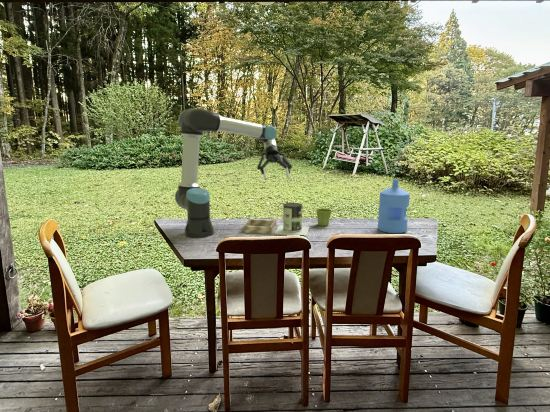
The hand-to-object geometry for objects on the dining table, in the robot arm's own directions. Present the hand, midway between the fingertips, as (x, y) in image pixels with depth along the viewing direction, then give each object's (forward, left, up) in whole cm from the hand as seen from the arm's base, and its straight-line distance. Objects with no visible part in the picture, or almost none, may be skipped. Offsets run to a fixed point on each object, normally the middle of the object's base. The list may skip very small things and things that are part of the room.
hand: (277, 178), depth 217 cm
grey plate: (+11, -11, -27) cm, 31 cm away
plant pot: (+27, +5, -27) cm, 38 cm away
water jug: (+65, +1, -27) cm, 70 cm away
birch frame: (-7, -11, -27) cm, 30 cm away
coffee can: (+10, -11, -27) cm, 31 cm away
